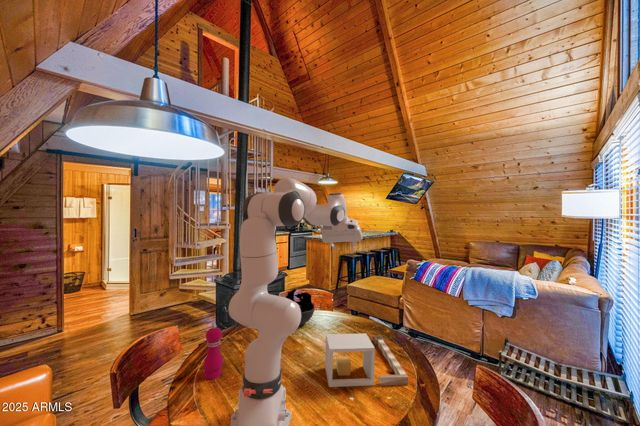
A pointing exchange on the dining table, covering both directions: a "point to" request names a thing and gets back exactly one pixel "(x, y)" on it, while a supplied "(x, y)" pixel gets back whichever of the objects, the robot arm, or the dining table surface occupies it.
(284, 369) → the dining table surface
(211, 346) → the pepper mill
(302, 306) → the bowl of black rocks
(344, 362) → the ochre cube
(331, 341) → the cubby
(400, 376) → the pale grey hook
